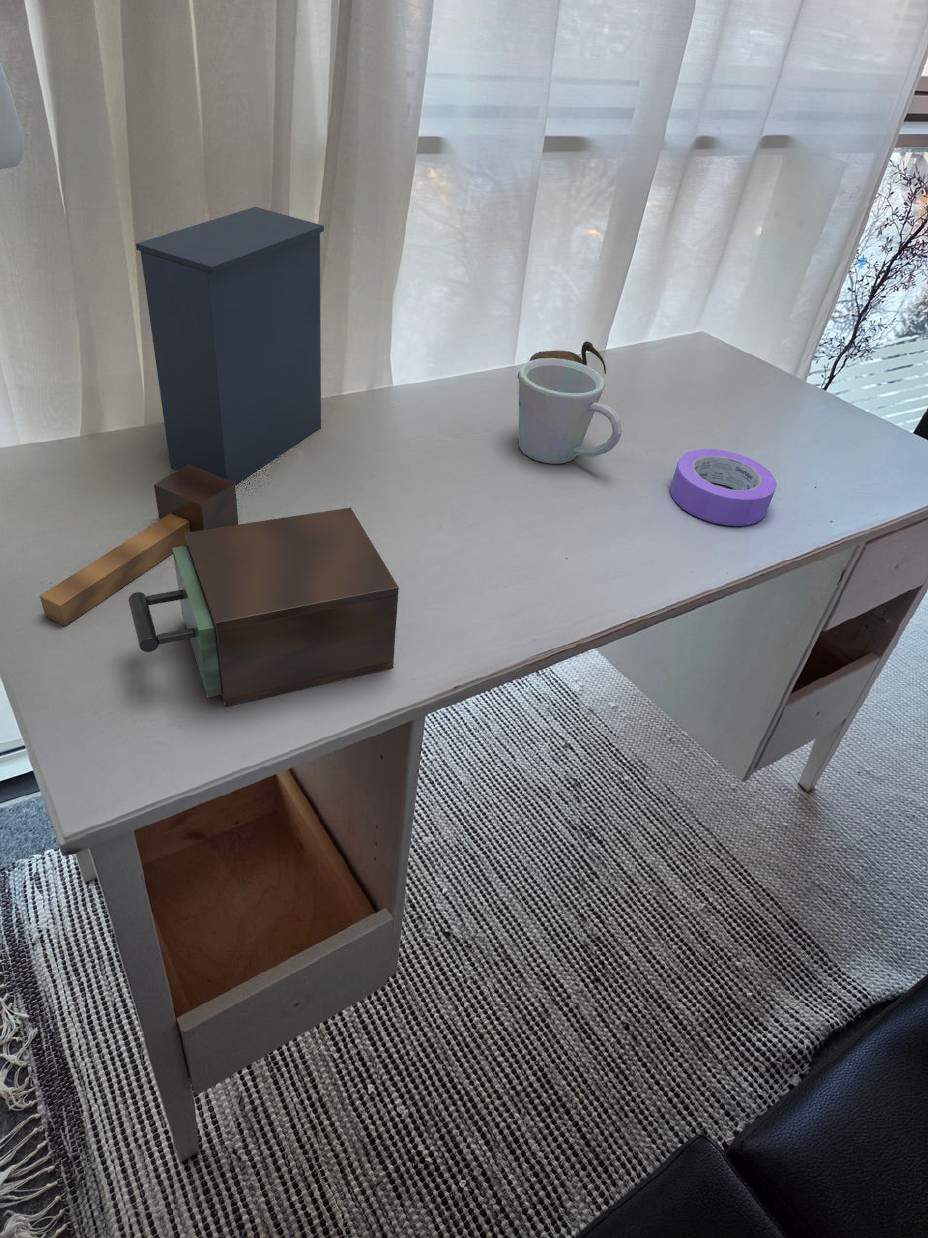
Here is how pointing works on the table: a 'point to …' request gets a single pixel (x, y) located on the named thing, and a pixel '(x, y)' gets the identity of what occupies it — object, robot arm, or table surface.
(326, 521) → the cabinet
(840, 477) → the table surface
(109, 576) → the mallet
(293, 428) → the stand
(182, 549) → the drawer
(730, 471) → the tape roll
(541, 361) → the mug
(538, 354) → the figurine
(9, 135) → the robot arm
